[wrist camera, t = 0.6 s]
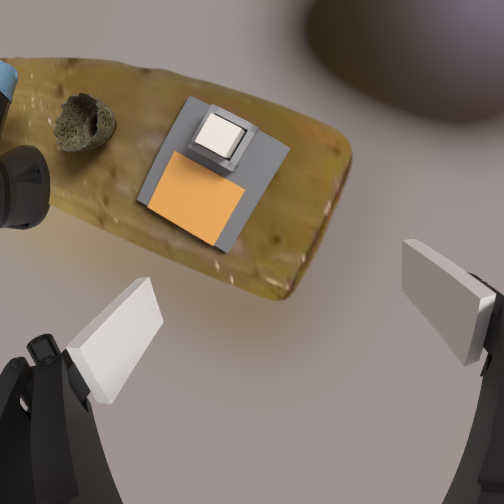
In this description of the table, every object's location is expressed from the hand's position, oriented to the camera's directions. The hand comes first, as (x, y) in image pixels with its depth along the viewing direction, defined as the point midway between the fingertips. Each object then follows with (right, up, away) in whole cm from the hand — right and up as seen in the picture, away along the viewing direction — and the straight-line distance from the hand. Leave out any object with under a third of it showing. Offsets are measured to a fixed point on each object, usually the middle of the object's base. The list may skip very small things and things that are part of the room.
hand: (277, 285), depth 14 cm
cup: (-21, +19, +20) cm, 35 cm away
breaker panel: (-6, +11, +20) cm, 24 cm away
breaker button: (-4, +14, +16) cm, 22 cm away
